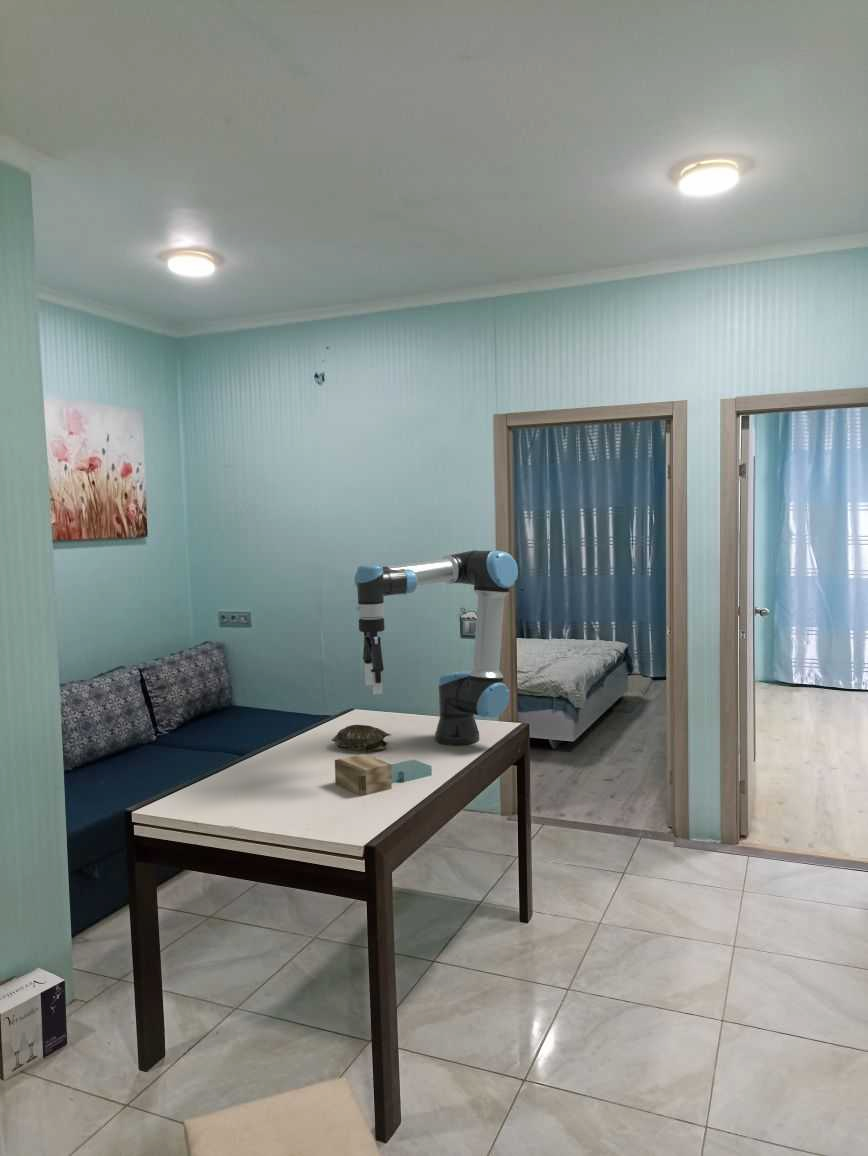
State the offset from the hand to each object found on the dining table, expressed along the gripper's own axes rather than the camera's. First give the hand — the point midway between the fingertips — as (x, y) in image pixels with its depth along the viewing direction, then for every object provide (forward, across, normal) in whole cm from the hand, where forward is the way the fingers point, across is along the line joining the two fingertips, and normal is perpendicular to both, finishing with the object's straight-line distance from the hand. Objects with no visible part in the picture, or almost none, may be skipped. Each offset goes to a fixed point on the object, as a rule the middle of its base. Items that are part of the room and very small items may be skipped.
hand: (373, 689), depth 254 cm
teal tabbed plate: (+26, +4, +7) cm, 27 cm away
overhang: (+26, +10, -6) cm, 28 cm away
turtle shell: (+26, -32, 0) cm, 41 cm away
